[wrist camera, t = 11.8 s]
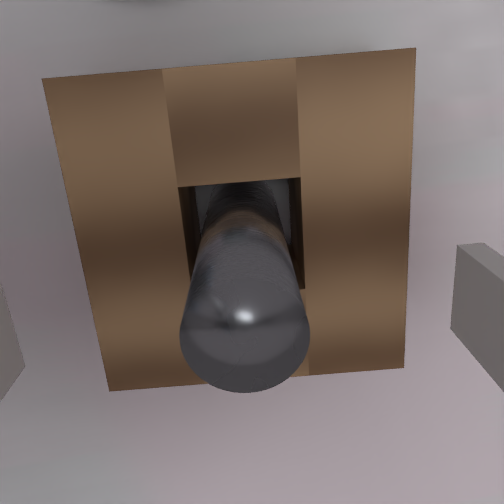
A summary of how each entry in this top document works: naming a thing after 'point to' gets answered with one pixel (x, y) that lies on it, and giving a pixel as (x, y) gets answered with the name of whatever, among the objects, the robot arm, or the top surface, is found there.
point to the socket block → (241, 170)
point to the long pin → (243, 295)
